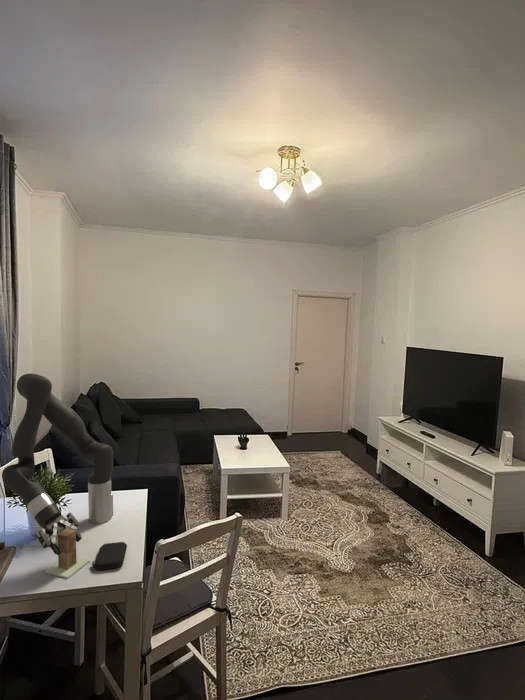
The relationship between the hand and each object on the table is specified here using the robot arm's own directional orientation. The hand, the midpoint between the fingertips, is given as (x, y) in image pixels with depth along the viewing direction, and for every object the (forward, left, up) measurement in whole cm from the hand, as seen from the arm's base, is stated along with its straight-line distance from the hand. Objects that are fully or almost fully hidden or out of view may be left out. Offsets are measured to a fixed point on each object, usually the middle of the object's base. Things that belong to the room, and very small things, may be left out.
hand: (70, 546), depth 139 cm
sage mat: (0, -1, -8) cm, 8 cm away
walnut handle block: (0, -1, -7) cm, 7 cm away
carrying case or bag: (-9, +9, -8) cm, 15 cm away
